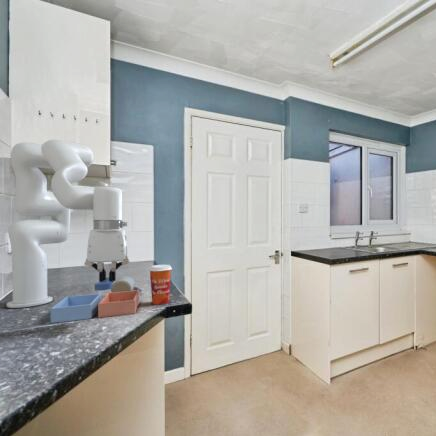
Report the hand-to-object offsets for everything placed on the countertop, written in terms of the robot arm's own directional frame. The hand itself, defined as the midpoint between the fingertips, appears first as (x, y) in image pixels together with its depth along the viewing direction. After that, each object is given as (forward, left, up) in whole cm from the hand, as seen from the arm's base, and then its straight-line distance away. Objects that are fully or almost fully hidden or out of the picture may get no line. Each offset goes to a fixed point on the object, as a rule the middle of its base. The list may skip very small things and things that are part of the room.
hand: (107, 283), depth 99 cm
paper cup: (-15, +15, -12) cm, 24 cm away
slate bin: (-12, -10, -12) cm, 19 cm away
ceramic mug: (-33, +2, -12) cm, 35 cm away
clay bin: (-12, +2, -12) cm, 17 cm away
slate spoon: (+2, 0, 0) cm, 2 cm away
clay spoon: (-12, +2, -11) cm, 16 cm away
